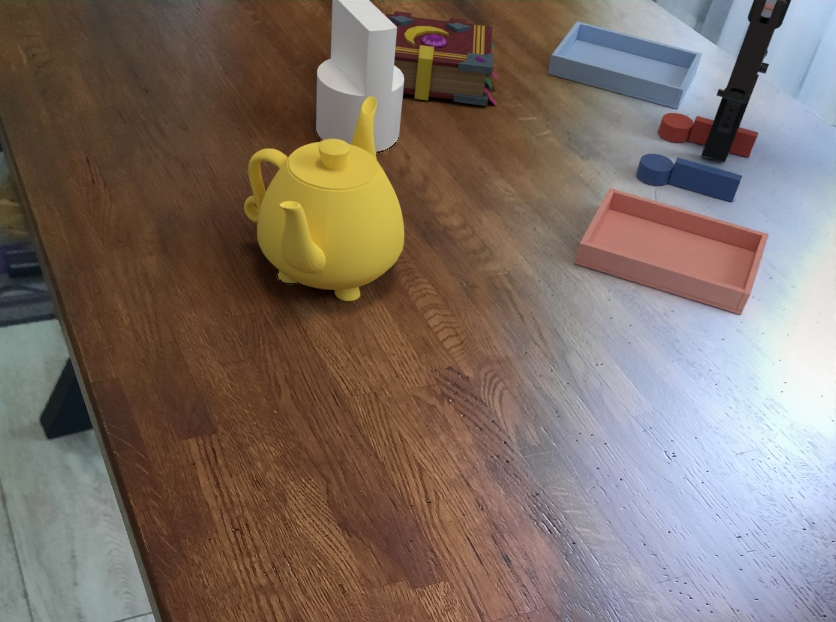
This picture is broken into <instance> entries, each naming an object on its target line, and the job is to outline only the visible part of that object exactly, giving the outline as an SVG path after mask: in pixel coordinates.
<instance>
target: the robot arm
mask: <svg viewBox="0 0 836 622" xmlns="http://www.w3.org/2000/svg"><path fill="white" fill-rule="evenodd" d="M791 2H792V0H753V1H752V3H751V6H750V9H749V11H748V14H747V20H748V22H749V24H748V27H747V30H746V31H745V32H746V33H745V35H744V37H743V40H742V44H741V46H740V49H739V52H738V55H737V58H736V60H735V63H734V65H733V68H732V71H731V74H730V77H729V80H728V82H727V84H726V87H725V88H724V89H723V88H722V89H721V88H718V90H717V92H716V94H715V95H716V96H717V97H720V98H721V99H720V102H719V105H718V108H717V110H716V114H715V116H714V119H713V120H714V121H713V124H712V127H711V130H710V133H709V135H708V138H707V141H706V144H705V145H703V146H704V147H703V149H702V152H701V155H700V156H701V157H704V158H707V159H711V160H715V161H719V162H721V163H726V161H727V159H728V156H729V153H730V152H729V151H730V148H731V146H732V143H733V141H734V138H735V135H736V133H737V130H738V127H740V126H741V123H742V121H743V118H744V115H745V113H746V110H747V107H748V105H749V103H750V99H751V98H752V95H753V92H754V89H755V87H756V84H757V81H758V78H759V76H760V74H759V73H761V74H765V75H766V74H767V71H768V68H769V66H770V63H767V62H764V59H765V58H766V57H767V55H768V53H769V50H768V49H769V46H770V43H771V41H772V38H773V36H774V34H775V31H776V30H777V29H779V28H780V27H781V26H782V25H783V23H784V20H785V18H786V15H787V12H788V10H789V7H790V5H791Z"/></svg>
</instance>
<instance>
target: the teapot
mask: <svg viewBox="0 0 836 622" xmlns="http://www.w3.org/2000/svg"><path fill="white" fill-rule="evenodd" d="M376 107H377V100H376V98H375V97H374V96H370V97H368V98H367V99H366V100H365V101H364V102H363V104H362V106H361V109H360V113H359V117H358V121H357V124H356V128H355V132H354V135H353V138H352V142H351V145H350V144H348V143H347V142H345V141H343V140H339V139H325V140H322V141H321V140H320V141H317V142H311V143H308V144H305V145H304V144H303V145H301V146H300V147H298V148H296V149H295V150H293V152H292V153H290V154H289V155H287V154H285V153H283V151H280V150H278V149H275V148H263V149H260V150H257V152H255V153H254V154H253V155H252V156H251V157H250V158H249V159H250V160H249V162H248V166H247V174H248V180H249V185H250V188H251V192H252V195H249V196H248V197H247V198H246V199H245V201H244V205H243V210H244V213H245V216H246V217H247V218H248V219H249V220H250V221H252V222H254V223H257V224H256V237H257V242H258V246H259V248H260V250H261V252H262V254H263V255H264V257H265V258H266V259H267V260H268V261H269V263H270V264H272V266H274V267H275V268H276V269H277V270H278V272H279V273H278V272H277V274H278V276H279V278H280V279H282V280H283V281H286V282H287V283H296V284H298V283H299V284H301V285H303V286H307V287H311V288H313V289H314V288H315V289H320V290H328V291H329V290H330V291H334V295H335V297H336V298H337V299H339V300H341V301H345V302H352V301H356V300H358V299H359V298H360V297H361V291H360V287H363V286H365V285H368V284H370V283H372V282H374V281H375V280H377V279H378V278H380V277H381V276H382V275H384V274H385V273H387V271H388V270H389V269H391V268H392V267H393V266H394V265H395V264H396V262H397V261H398V260H399V258H400V256H401V254H402V252H403V250H404V245H405V223H404V217H403V212H402V208H401V205H400V202H399V199H398V197H397V194H396V191H395V189H394V186H393V185H392V183H391V182H390V180H389V177H388V176H387V174H386V172H385V170H384V169H383V167H382V166H381V164H380V163H379V161H378V159H377V153H376V152H375V143H374V117H375V112H376ZM262 162H267V163H268V162H269V163H271V164H272V165H274V166H276V167H277V168H278V170H277V172H276V173H275V175H274V176H273V178H272V179H271V181H270V183H269V185H268V187H267V188H265V187H266V186H265V184H264V180H263V176H262V170H261V163H262ZM297 282H298V283H297Z"/></svg>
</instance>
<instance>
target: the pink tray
mask: <svg viewBox="0 0 836 622" xmlns="http://www.w3.org/2000/svg"><path fill="white" fill-rule="evenodd" d="M768 239H769V233H767V232H763V231H759V230H756V229H753V228H749V227H746V226H742V225H739V224H736V223H732V222H728V221H725V220H722V219H718V218H715V217H711V216H708V215H706V214H705V215H704V214H702V213H698V212H694V211H691V210H687V209H684V208H681V207H677V206H673V205H670V204H668V203H667V204H666V203H664V202H659V201H657V200H653V199H649V198H647V197H644V196H643V197H642V196H639V195H635V194H631V193H629V192H625V191H622V190H619V189H615V188H612V187H609V188H608V190H607V192H606V194H605V195H604V198H603V199H602V201H601V203H600V205H599V206H598V208H597V211H596V212H595V214H594V216H593V218H592V220H591V222H590V223H589V225H588V227H587V228H586V231H585V233H584V234H583V236H582V237H581V240H580V242H579V245H578V249H577V252H576V255H575V260H574V265H577V266H580V267H584V268H588V269H591V270H594V271H597V272H600V273H604V274H606V275H610V276H613V277H617V278H620V279H623V280H627V281H630V282H633V283H636V284H640V285H642V286H645V287H649V288H653V289H655V290H658V291H662V292H665V293H669V294H672V295H674V296H675V295H676V296H679V297H682V298H685V299H688V300H691V301H695V302H697V303H702V304H705V305H708V306H710V307H714V308H717V309H720V310H724V311H727V312H729V313H730V312H731V313H734V314H737V315H742V313H743V311H744V309H745V307H746V305H747V303H748V301H749V298H750V296H751V292H752V290H753V287H754V283H755V280H756V277H757V274H758V270H759V267H760V264H761V261H762V258H763V254H764V251H765V248H766V245H767V241H768Z"/></svg>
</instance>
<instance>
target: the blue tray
mask: <svg viewBox="0 0 836 622" xmlns="http://www.w3.org/2000/svg"><path fill="white" fill-rule="evenodd" d="M702 56H703V53H702V52H697V51H694V50H689V49H687V48H683V47H679V46H674V45H671V44H668V43H667V44H666V43H663V42H659V41H656V40H651V39H648V38H643V37H639V36H636V35H632V34H628V33H624V32H620V31H617V30H613V29H609V28H606V27H602V26H598V25H594V24H590V23H586V22H582V21H578V20H577V21H576V22H575V23H574V25H573V26H572V27H571V29H570V30H569V31H568V32H567V34H566V35H565V36H564V38H563V39H562V40H561V42H560V43H559V44H558V46H557V47H556V48H555V50H554V51H553V52H552V54H551V56H550V60H549V64H548V70H547V75H549V76H550V75H551V76H554V77H558V78H562V79H564V80H569V81H573V82H576V83H580V84H584V85H588V86H591V87H594V88H598V89H601V90H605V91H610V92H613V93H616V94H620V95H624V96H628V97H632V98H634V99H639V100H643V101H647V102H650V103H654V104H658V105H661V106H663V107H664V106H665V107H668V108H671V109H675V110H678V109H679V107H680V105H681V103H682V101H683V99H684V97H685V95H686V93H687V91H688V89H689V87H690V85H691V84H692V81H693V79H694V77H695V75H696V74H697V71H698V68H699V65H700V62H701V59H702Z"/></svg>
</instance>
